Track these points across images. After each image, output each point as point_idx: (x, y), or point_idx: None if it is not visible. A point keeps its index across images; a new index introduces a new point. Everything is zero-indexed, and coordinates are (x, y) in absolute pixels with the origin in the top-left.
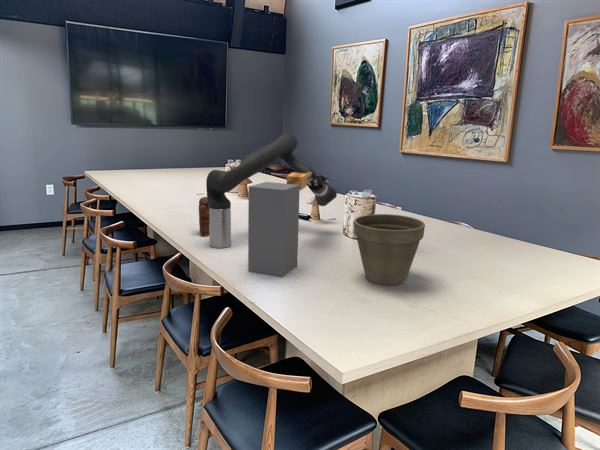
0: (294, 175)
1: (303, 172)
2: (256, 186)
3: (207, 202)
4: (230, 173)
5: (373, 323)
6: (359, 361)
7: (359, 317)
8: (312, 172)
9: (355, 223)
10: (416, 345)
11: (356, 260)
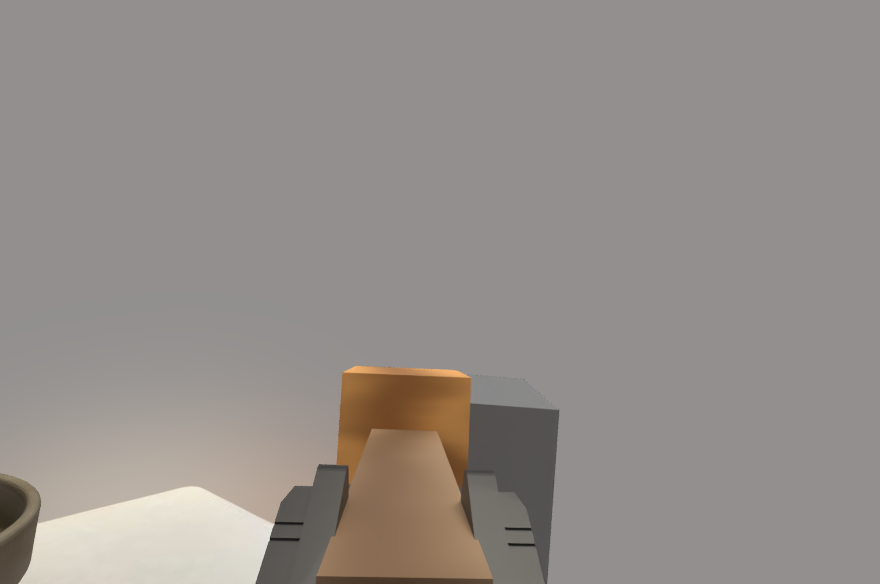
0: (415, 369)
1: (504, 498)
2: (501, 379)
3: None
4: None
5: (94, 557)
6: (166, 495)
7: (118, 567)
8: (338, 470)
9: (40, 504)
10: (42, 524)
11: None
